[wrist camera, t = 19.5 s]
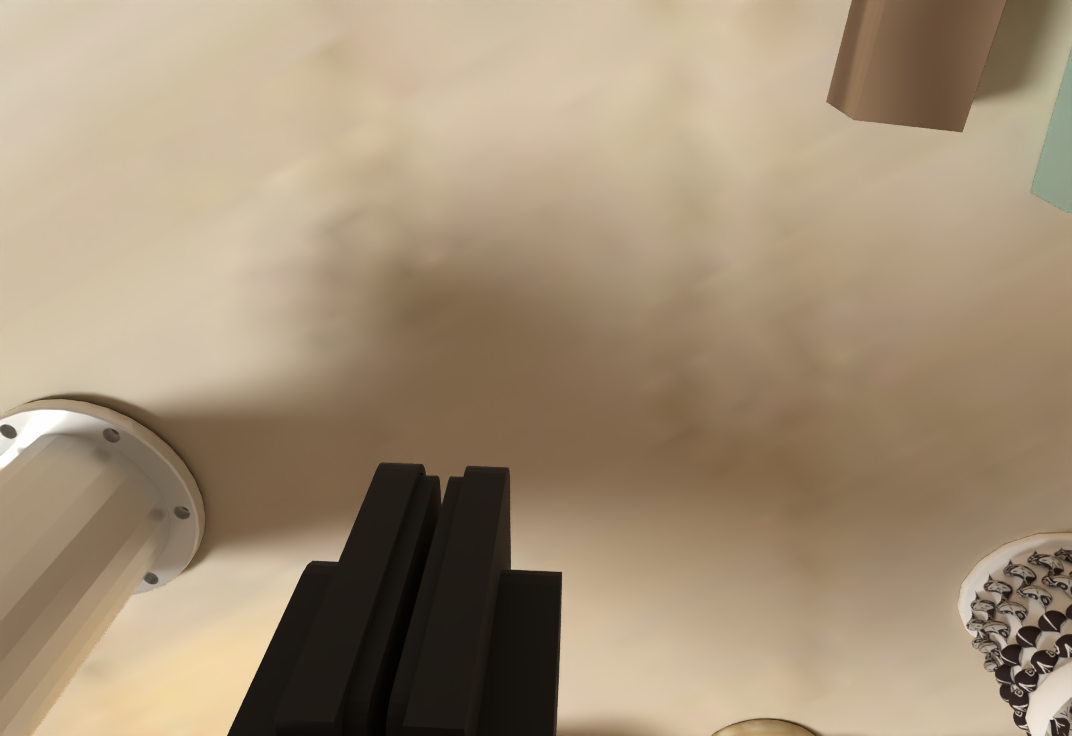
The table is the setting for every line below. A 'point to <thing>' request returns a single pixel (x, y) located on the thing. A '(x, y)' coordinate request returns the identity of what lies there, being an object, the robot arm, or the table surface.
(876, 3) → the t block
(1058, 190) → the corner fence
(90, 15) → the table surface
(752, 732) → the hand bell
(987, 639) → the patterned stacked cylinder
